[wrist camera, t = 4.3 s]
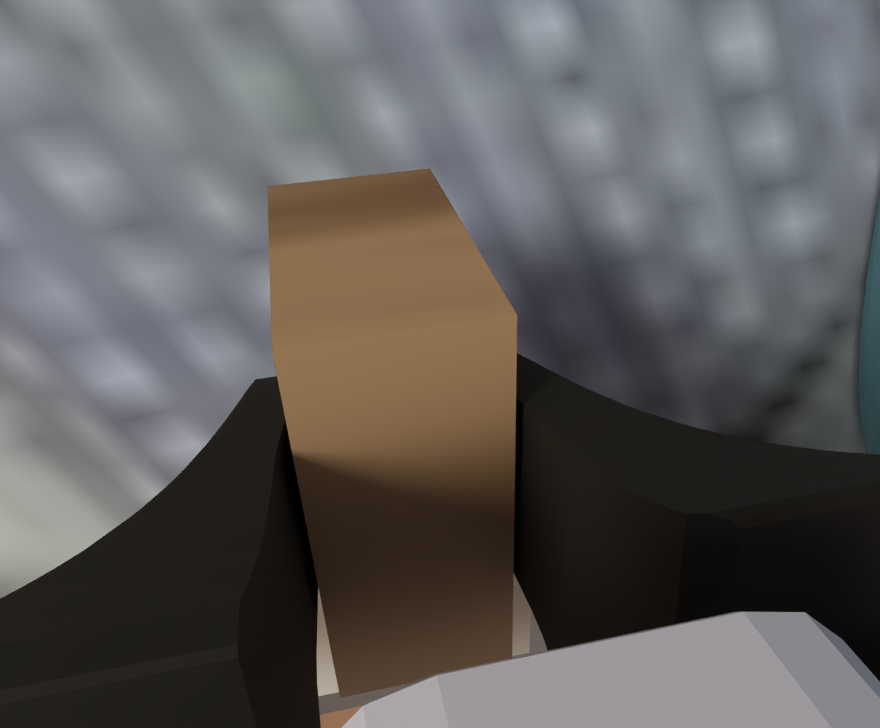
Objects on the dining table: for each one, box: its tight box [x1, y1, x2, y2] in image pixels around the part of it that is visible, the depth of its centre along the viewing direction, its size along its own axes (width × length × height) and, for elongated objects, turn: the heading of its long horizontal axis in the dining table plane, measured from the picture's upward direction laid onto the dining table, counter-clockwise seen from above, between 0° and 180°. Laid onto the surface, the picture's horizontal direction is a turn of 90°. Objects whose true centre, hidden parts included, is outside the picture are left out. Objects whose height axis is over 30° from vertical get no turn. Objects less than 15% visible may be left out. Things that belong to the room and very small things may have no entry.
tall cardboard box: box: [268, 169, 531, 698], centre depth 13 cm, size 12×6×5 cm, turn 4°
